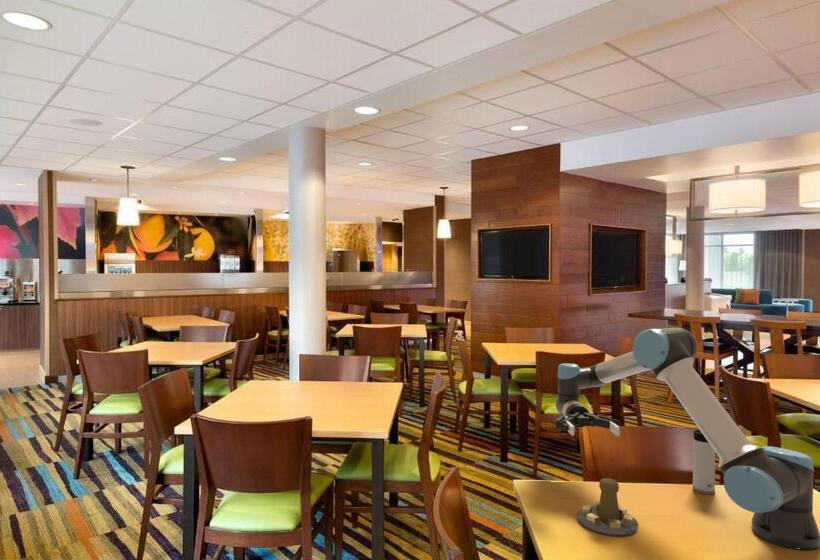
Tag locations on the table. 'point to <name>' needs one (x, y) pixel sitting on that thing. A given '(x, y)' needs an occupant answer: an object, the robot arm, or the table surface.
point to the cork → (608, 500)
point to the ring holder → (613, 527)
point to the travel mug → (703, 464)
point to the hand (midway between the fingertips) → (595, 431)
